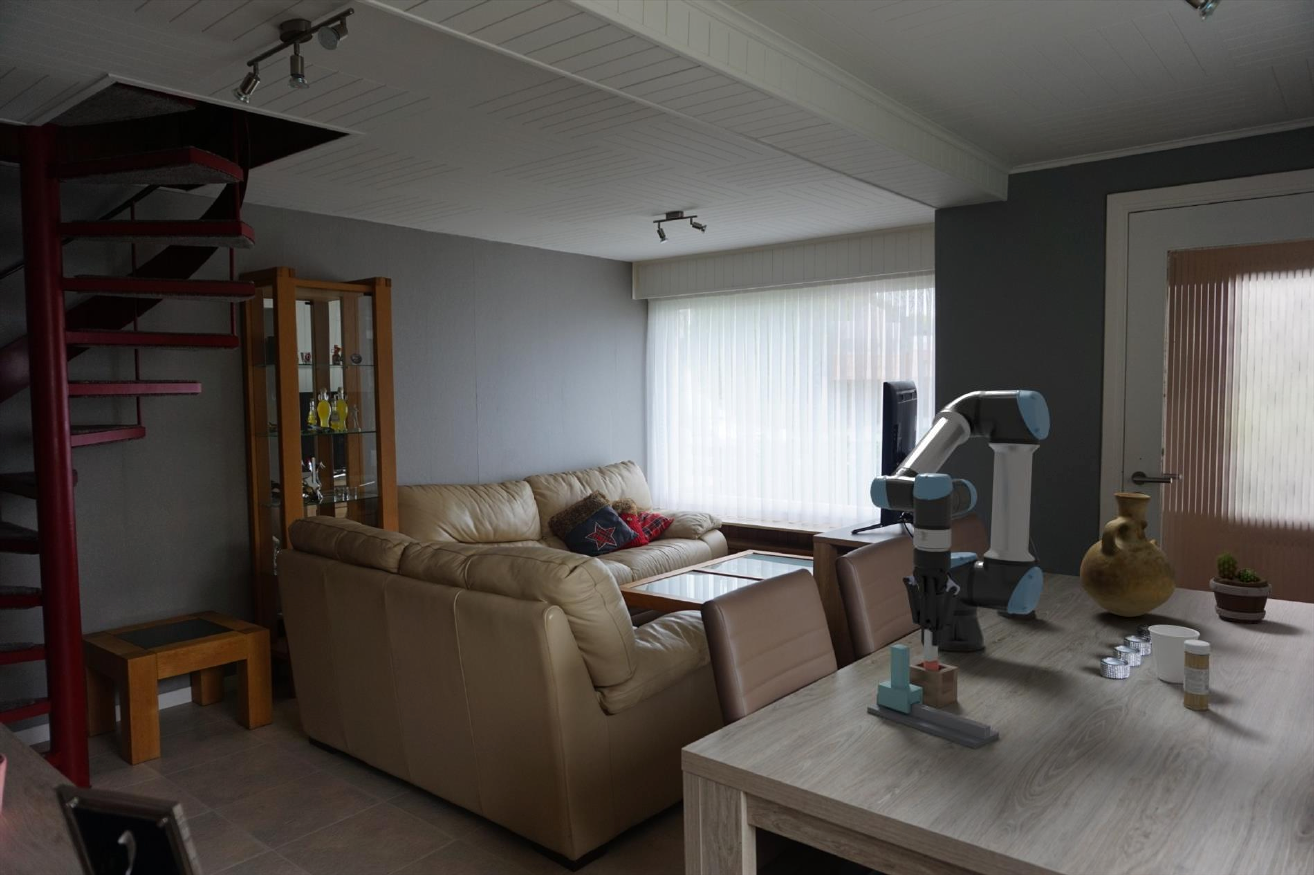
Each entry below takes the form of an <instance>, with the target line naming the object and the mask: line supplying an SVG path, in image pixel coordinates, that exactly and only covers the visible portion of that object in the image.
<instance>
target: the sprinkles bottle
mask: <svg viewBox="0 0 1314 875" xmlns="http://www.w3.org/2000/svg"><path fill="white" fill-rule="evenodd" d="M1184 650H1185V663H1184V683H1183V687H1182V688H1183V701H1182V705H1183V706H1184V707H1185V708H1188V709H1190V710H1194V711H1207V710H1208V709H1209V691H1210V655H1211V644H1210V643H1209V642H1206V641H1204V640H1199V639H1198V640H1186V641H1184Z"/></svg>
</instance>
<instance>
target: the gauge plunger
mask: <svg viewBox="0 0 1314 875" xmlns="http://www.w3.org/2000/svg"><path fill="white" fill-rule="evenodd" d="M939 663H940V661H939V659H938V660H935V661H932V662H928V661H925V660H924V668H926V669H929V670H933V671H939Z"/></svg>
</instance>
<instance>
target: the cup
mask: <svg viewBox="0 0 1314 875" xmlns="http://www.w3.org/2000/svg"><path fill="white" fill-rule="evenodd" d="M1147 630H1148V631H1149V633H1150V634H1149V635H1150V636H1149V637H1150V642H1151V646H1152V653H1153V660H1154V666H1155V671H1156V677H1157V678H1158V679H1160V680H1161V681H1163V682H1166V683H1171V684H1184V663H1185V650H1184V641H1186V640H1199V637H1200V636H1201V634H1200V632H1199V631H1197V630H1196V629H1192V628H1190V627H1189V628H1188V627H1185V626H1181V625H1171V624H1170V625H1169V624H1155V625H1151V626H1149V627H1148V629H1147Z"/></svg>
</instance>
